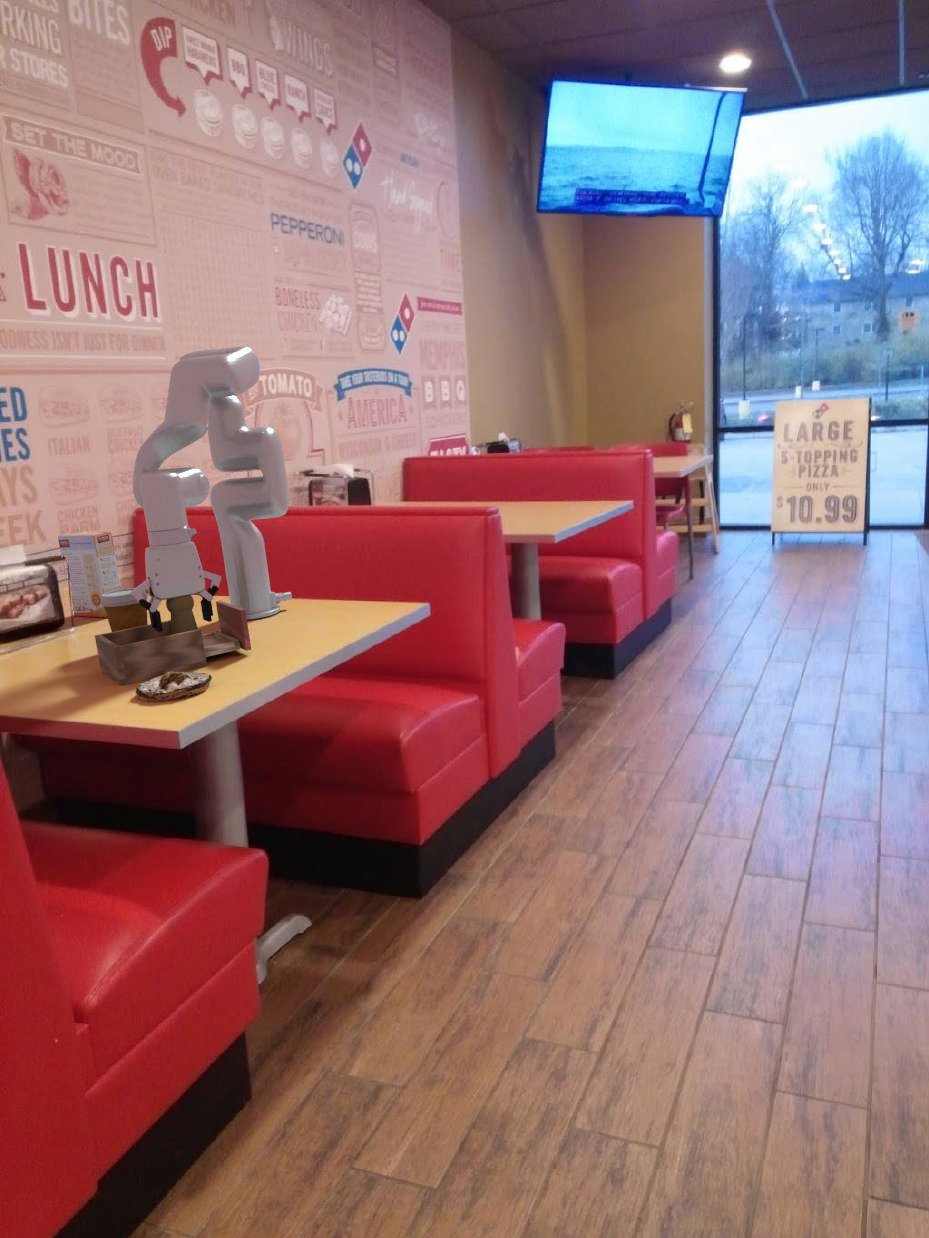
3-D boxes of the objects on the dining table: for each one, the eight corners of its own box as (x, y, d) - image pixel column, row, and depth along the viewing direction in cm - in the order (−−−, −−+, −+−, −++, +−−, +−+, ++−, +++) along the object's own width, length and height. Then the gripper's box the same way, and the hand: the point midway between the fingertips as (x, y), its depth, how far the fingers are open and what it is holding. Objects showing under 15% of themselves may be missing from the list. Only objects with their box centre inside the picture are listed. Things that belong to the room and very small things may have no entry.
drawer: (226, 638, 202) (221, 600, 200) (251, 649, 190) (246, 609, 188) (149, 655, 193) (143, 616, 192) (171, 667, 182) (164, 626, 180)
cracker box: (127, 613, 246) (112, 530, 241) (107, 618, 241) (91, 534, 236) (91, 611, 254) (76, 531, 249) (71, 616, 249) (56, 535, 244)
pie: (183, 677, 180) (180, 655, 179) (237, 686, 171) (233, 663, 170) (113, 701, 169) (109, 678, 168) (166, 711, 160) (162, 687, 159)
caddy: (182, 652, 198) (176, 618, 196) (206, 665, 185) (201, 629, 184) (101, 670, 189) (94, 635, 188) (121, 685, 177) (114, 647, 175)
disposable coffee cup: (165, 641, 209) (156, 586, 206) (137, 653, 200) (127, 596, 198) (128, 642, 212) (119, 587, 210) (99, 653, 204) (89, 597, 201)
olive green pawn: (194, 653, 187) (185, 596, 185) (165, 654, 188) (156, 598, 186) (208, 644, 193) (200, 590, 190) (180, 645, 194) (171, 591, 192)
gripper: (206, 530, 193) (219, 614, 197) (117, 544, 184) (133, 632, 188) (219, 532, 187) (233, 619, 191) (128, 546, 178) (144, 638, 182)
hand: (183, 625), depth 189 cm, fingers open, 9 cm apart
